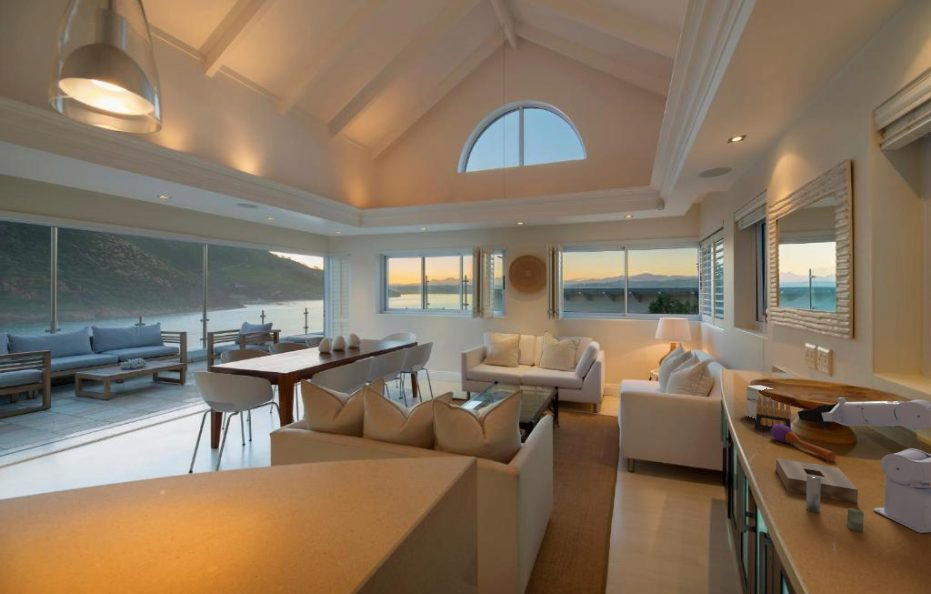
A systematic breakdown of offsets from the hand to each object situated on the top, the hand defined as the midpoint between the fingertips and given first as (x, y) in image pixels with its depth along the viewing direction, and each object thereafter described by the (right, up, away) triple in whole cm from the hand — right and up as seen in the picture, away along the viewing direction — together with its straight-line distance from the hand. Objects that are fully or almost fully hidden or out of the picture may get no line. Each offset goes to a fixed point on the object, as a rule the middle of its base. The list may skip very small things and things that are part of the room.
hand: (807, 413), depth 116 cm
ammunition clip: (+21, -18, +42) cm, 50 cm away
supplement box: (+25, -17, +55) cm, 63 cm away
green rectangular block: (-7, -19, -22) cm, 30 cm away
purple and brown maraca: (+17, -19, +23) cm, 34 cm away
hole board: (0, -19, -2) cm, 19 cm away
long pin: (-11, -19, -15) cm, 26 cm away
